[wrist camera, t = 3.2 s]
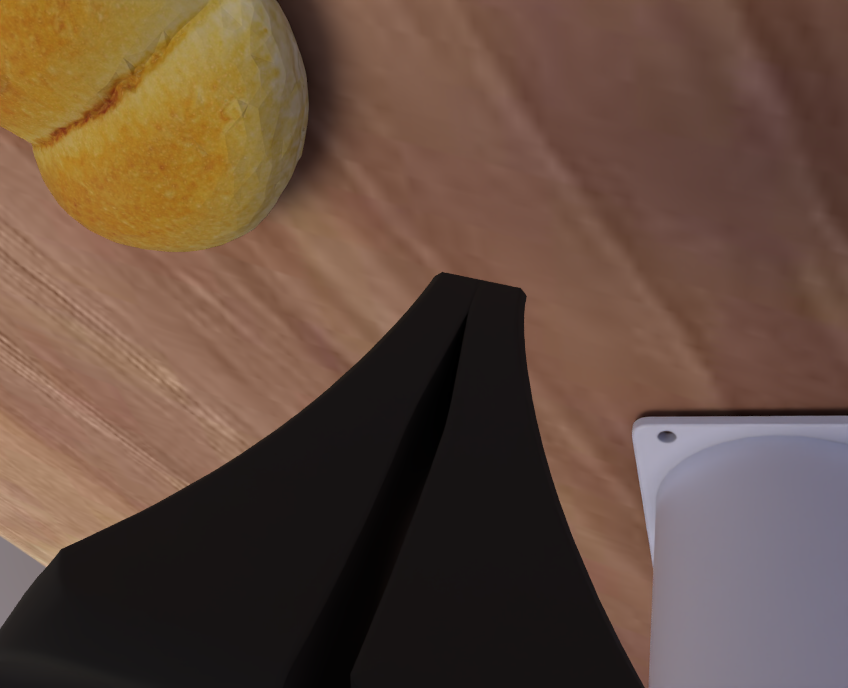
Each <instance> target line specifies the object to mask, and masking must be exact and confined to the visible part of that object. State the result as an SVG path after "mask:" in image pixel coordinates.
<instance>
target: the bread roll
mask: <svg viewBox="0 0 848 688" xmlns="http://www.w3.org/2000/svg"><path fill="white" fill-rule="evenodd" d="M308 111H309V101H308V87H307V78H306V72H305V68H304V64H303V60H302V57H301V54H300V51H299V49H298V46H297V43H296V40H295V37H294V35H293V32H292V30H291V27H290V24H289V22H288V20H287V18H286V16H285V14H284V13H283V11H282V9H281V7H280V5H279V4H278V2H277V1H276V0H0V126H1V127H3V128H5V129H7V130H9V131H10V132H12V133H14V134H15V135H17V136H19V137H21V138H22V139H25V140H26V141H28V142H30V143H32V146H33V152H34V155H35V158H36V162H37V165H38V168H39V170H40V173H41V175H42V178H43V180H44V182H45V184H46V186H47V187H48V189H49V190H50V192H51V193H52V195H53V196H54V198H55V199H56V201H57V202H58V204H59V205H60V206H61V207H62V208H63V209H64V210H65V211H66V212H67V213H68V214H69V215H70V216H71V217H73V218H74V219H75V220H76V221H78V222H79V223H80V224H82V225H83V226H84V227H86V228H87V229H89V230H90V231H92V232H94V233H96V234H98V235H100V236H103V237H105V238H107V239H109V240H111V241H114V242H116V243H120V244H124V245H128V246H132V247H137V248H141V249H148V250H157V251H167V252H188V251H197V250H204V249H208V248H212V247H216V246H220V245H223V244H225V243H227V242H230V241H232V240H234V239H236V238H239V237H241V236H243V235H245V234H246V233H248V232H250V231H252V230H253V229H254V228H255V227H256V226H257V225H258V224H259V223H260V222H261V221H262V220H263V219H264V218H265V217H266V216H267V215H268V214H269V212H270V211H271V210H272V208H273V207H274V205H275V204H276V202H277V200H278V198H279V197H280V195H281V193H282V192H283V190H284V189H285V187H286V186H287V184H288V182H289V181H290V179H291V177H292V175H293V172H294V170H295V167H296V165H297V162H298V161H299V159H300V157H301V156H302V151H303V146H304V141H305V136H306V129H307V123H308Z"/></svg>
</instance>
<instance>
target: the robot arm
mask: <svg viewBox="0 0 848 688" xmlns="http://www.w3.org/2000/svg"><path fill="white" fill-rule="evenodd" d="M526 297H527V296H526V294H525V293H524V292H523V290H522V289H521V288H517V287H512V286H507V285H503V284H498V283H493V282H488V281H483V280H478V279H474V278H469V277H464V276H459V275H454V274H449V273H444V272H442V273H440V274H438V275H436V276H435V277H434V278H433V279H432V281H431V282H430V284H429V285H428V286H427V288H426V289H425V290H424V291H423V293H422V294H421V295H420V296H419V298H418V299H417V300H416V301H415V302H414V304H413V305H412V306H411V307H410V308H409V310H408V311H407V312H406V313H405V314H404V315H403V316H402V317H401V318H400V320H399V321H398V322H397V323H396V324H395V325H394V326H393V327H392V328H391V329H390V330H389V331H388V332H387V333H386V334H385V335H384V336H383V338H382V339H381V340H380V341H379V342H378V343H377V344H376V345H375V346H374V347H373V348H372V349H371V350H370V351H369V352H368V353H367V354H366V355H365V356H364V357H363V358H362V359H361V360H360V361H359V362H357V363H356V364H355V365H354V366H353V367H352V368H351V369H350V370H349V371H347V372H346V373H345V374H344V375H343V376H342V377H341V378H340V379H339V380H338V381H336V382H335V383H334V384H333V385H332V386H331V387H330V388H329V389H328V390H326V391H325V392H324V393H323V394H322V395H320V396H319V397H318V398H317V399H316V400H314V401H313V402H312V403H311V404H309V405H308V406H307V407H306V408H304V409H303V410H302V411H301V412H299V413H298V414H297V415H295V416H294V417H293V418H291V419H290V420H289V421H287V422H286V423H285V424H283V425H282V426H281V427H279V428H278V429H277V430H275V431H274V432H272V433H271V434H270V435H268V436H267V437H265V438H264V439H262V440H261V441H259V442H258V443H256V444H255V445H253V446H252V447H251V448H249V449H248V450H246V451H245V452H243V453H242V454H240V455H239V456H237V457H236V458H234V459H232V460H231V461H229V462H228V463H226V464H225V465H223V466H221V467H220V468H218V469H217V470H215V471H213V472H211V473H210V474H208V475H206V476H204V477H203V478H201V479H199V480H197V481H196V482H194V483H192V484H190V485H189V486H187V487H185V488H183V489H181V490H180V491H178V492H176V493H174V494H173V495H171V496H169V497H167V498H166V499H164V500H162V501H160V502H159V503H157V504H155V505H153V506H151V507H149V508H147V509H145V510H143V511H141V512H139V513H137V514H135V515H133V516H131V517H129V518H127V519H125V520H122V521H120V522H118V523H116V524H114V525H112V526H110V527H108V528H106V529H104V530H101V531H99V532H97V533H95V534H93V535H91V536H89V537H87V538H85V539H83V540H80V541H78V542H76V543H74V544H72V545H69V546H67V547H65V548H63V549H61V550H60V552H59V553H58V554H57V555H56V557H55V558H54V559H53V560H52V561H51V563H50V564H49V565H48V566H47V567H46V568H45V570H44V571H43V572H42V573H41V574H40V575H39V576H38V577H37V579H36V580H35V581H34V582H33V584H32V585H31V586H30V587H29V589H28V590H27V591H26V593H25V594H24V595H23V597H22V598H21V600H20V601H19V603H18V604H17V606H16V607H15V608H14V610H13V611H12V613H11V614H10V616H9V617H8V618H7V620H6V621H5V623H4V624H3V626H2V627H1V629H0V688H645V687H644V686H643V684H642V682H641V680H640V678H639V677H638V675H637V673H636V671H635V669H634V667H633V665H632V664H631V662H630V660H629V658H628V656H627V654H626V652H625V650H624V648H623V647H622V645H621V643H620V641H619V639H618V637H617V635H616V633H615V631H614V629H613V627H612V624H611V622H610V620H609V618H608V616H607V614H606V612H605V610H604V608H603V606H602V604H601V602H600V600H599V598H598V595H597V593H596V591H595V588H594V586H593V584H592V581H591V579H590V577H589V574H588V572H587V570H586V567H585V565H584V563H583V560H582V558H581V556H580V553H579V551H578V549H577V546H576V544H575V542H574V539H573V537H572V534H571V532H570V529H569V526H568V523H567V521H566V518H565V515H564V512H563V510H562V507H561V504H560V501H559V498H558V495H557V492H556V489H555V486H554V483H553V480H552V477H551V473H550V470H549V466H548V463H547V459H546V456H545V452H544V448H543V445H542V441H541V436H540V432H539V428H538V424H537V420H536V415H535V410H534V405H533V400H532V394H531V388H530V382H529V376H528V370H527V362H526V353H525V339H524V310H525V302H526ZM663 431H670V432H671V433H665V432H663ZM632 440H633V446H634V452H635V458H636V464H637V471H638V477H639V483H640V489H641V496H642V502H643V508H644V514H645V521H646V527H647V533H648V539H649V545H650V552H651V558H652V564H653V592H652V617H651V642H650V668H649V688H848V416H682V417H642V418H640V419H638V420H636V421H635V422H634V423H633V428H632Z"/></svg>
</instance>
